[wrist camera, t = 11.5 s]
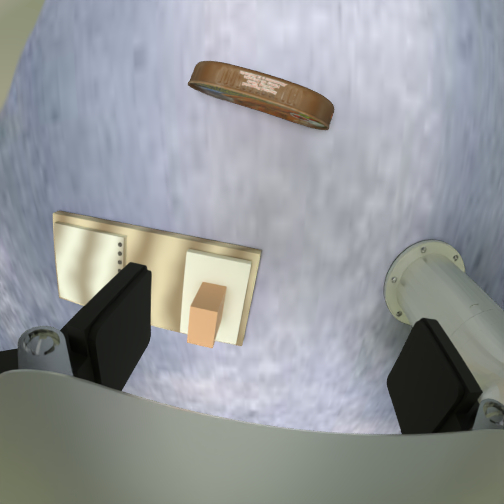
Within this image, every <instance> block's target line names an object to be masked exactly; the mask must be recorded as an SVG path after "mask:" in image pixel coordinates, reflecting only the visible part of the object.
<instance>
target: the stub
mask: <svg viewBox="0 0 504 504" xmlns="http://www.w3.org/2000/svg"><path fill="white" fill-rule="evenodd" d="M251 263H252V261H248V260H243V259H238V258H233V257H228V256H223V255H218V254H213V253H208V252H203V251H198V250H193V249H188V250H187V253H186V263H185V273H184V284H183V296H182V309H181V323H180V332H181V333H185V334H188V337H187V343H192V344H196V345H200V346H205V347H209V348H213V345H214V342H215V340H216V341H220V342H225V343H230V344H235V345H236V341H237V336H238V331H239V326H240V321H241V316H242V310H243V305H244V300H245V295H246V289H247V284H248V279H249V274H250V268H251Z"/></svg>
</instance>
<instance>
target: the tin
mask: <svg viewBox="0 0 504 504" xmlns="http://www.w3.org/2000/svg"><path fill="white" fill-rule="evenodd" d="M188 85H189V86H190V87H191V88H193V89H195V90H198V91H200V92H202V93H205V94H207V95H210V96H213V97H216V98H219V99H222V100H225V101H229V102H232V103H235V104H239V105H242V106H245V107H249V108H252V109H255V110H258V111H261V112H265V113H268V114H271V115H274V116H276V117H279V118H282V119H285V120H288V121H291V122H294V123H297V124H301V125H304V126H307V127H311V128H315V129H321V130H328V129H329V124H330V121H331V119H332V116H333V113H334V106H333V104H332V103H331V102H330V101H329V100H328V99H327V98H325V97H324V96H322V95H321V94H319V93H317V92H315V91H313V90H310V89H308V88H306V87H303V86H301V85H298V84H295V83H292V82H289V81H286V80H284V79H281V78H277V77H274V76H271V75H268V74H264V73H261V72H258V71H254V70H251V69H247V68H243V67H239V66H235V65H231V64H227V63H222V62H215V61H202V62H199V63H198V64H197V65H196V66H195V68H194V71H193V74H192V76H191V79H190V81H189V82H188Z"/></svg>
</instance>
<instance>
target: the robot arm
mask: <svg viewBox="0 0 504 504" xmlns="http://www.w3.org/2000/svg"><path fill="white" fill-rule="evenodd" d="M421 248H422V249H421ZM392 277H393V278H392ZM151 285H152V272H151V271H150V270H148V269H147V266H146V265H142V264H138V263H134V262H130V263H128V264H127V265H126V266H125V267H124V268H123V269H122V270H121V271H120V272H119V273H118V274H117V275H115V276H114V277H113V278H112V279H111V280H110V281H109V282H108V283H107V284H106V285H105V286H104V287H103V288H102V289H101V290H100V291H99V292H98V293H97V294H96V295H95V296H94V297H93V298H92V299H91V300H90V301H89V302H88V303H87V304H86V305H85V306H84V307H83V308H82V309H81V310H80V311H79V312H78V313H77V314H76V315H75V316H74V317H73V318H72V319H71V320H70V321H69V322H68V323H67V324H66V325H65V326H64V327H63V328H62V329H61V330H58V329H56V328H54V327H50V326H38V327H33V328H31V329H29V330H27V331H25V332H24V333H23V334H22V335H21V337H20V338H19V340H18V349H12V350H6V351H0V504H504V311H503V310H502V309H501V308H500V307H499V306H498V305H497V304H496V303H495V302H494V301H493V300H492V299H491V298H490V297H489V296H488V295H487V294H486V293H485V292H484V291H483V290H482V289H481V288H480V287H479V286H478V285H477V284H476V283H475V282H474V281H473V280H472V279H471V278H470V277H468V276H467V275H466V274H465V267H464V263H463V260H462V258H461V256H460V254H459V253H458V252H457V251H456V250H455V249H454V248H453V247H452V246H451V245H449V244H447V243H445V242H442V241H439V240H427V241H422V242H419V243H417V244H414V245H412V246H411V247H409V248H408V249H406V250H405V251H404V252H403V253H402V254H400V255H399V257H398V258H397V259H396V260H395V261H394V263H393V265H392V266H391V268H390V270H389V272H388V274H387V277H386V281H385V285H384V296H385V301H386V304H387V306H388V308H389V310H390V312H391V314H392V315H393V316H394V317H395V318H396V319H397V320H399V321H400V322H402V323H405V324H408V325H411V326H412V330H411V332H410V335H409V337H408V339H407V341H406V343H405V345H404V347H403V349H402V351H401V353H400V355H399V357H398V359H397V361H396V363H395V364H394V366H393V368H392V370H391V372H390V374H389V376H388V378H387V387H388V390H389V394H390V397H391V400H392V403H393V406H394V409H395V412H396V416H397V419H398V422H399V426H400V429H401V432H402V434H354V433H336V432H322V431H311V430H301V429H292V428H284V427H277V426H270V425H263V424H257V423H250V422H245V421H239V420H233V419H228V418H223V417H218V416H213V415H208V414H204V413H199V412H195V411H191V410H187V409H183V408H179V407H175V406H171V405H167V404H163V403H160V402H156V401H153V400H149V399H146V398H142V397H139V396H136V395H132V394H129V393H126V392H122V389H123V387H124V386H125V384H126V382H127V380H128V379H129V377H130V375H131V373H132V372H133V370H134V368H135V366H136V365H137V363H138V361H139V360H140V358H141V356H142V354H143V353H144V351H145V349H146V348H147V346H148V344H149V341H150V337H151Z"/></svg>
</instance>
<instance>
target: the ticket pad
mask: <svg viewBox="0 0 504 504" xmlns="http://www.w3.org/2000/svg"><path fill="white" fill-rule="evenodd" d="M53 231H54V249H55V262H56V273H57V282H58V291H59V298H62V299H65V300H68V301H71V302H74V303H77V304H80V305H83V306H85V305H86V304H87V303H88V302H89V301H90V300H91V299H92V298H93V297H94V296H95V295H96V294H97V293H98V292H99V291H100V290H101V289H102V288H103V287H104V286H105V285H106V284H107V283H108V282H109V281H110V280H111V279H112V278H113V277H114V276H115V275H117V274H118V273H119V272H120V271H121V270H122V269H123V268H124V267H125V266H126V265H127V264H128V263H130V262H134V263H138V264H142V265H146V266H147V269H148V270H150V271H151V272H152V285H151V325H152V326H156V327H160V328H164V329H167V330H171V331H175V332H180V323H181V309H182V296H183V284H184V273H185V263H186V253H187V250H188V249H193V250H198V251H203V252H208V253H213V254H218V255H223V256H228V257H233V258H238V259H243V260H248V261H252V263H251V268H250V274H249V279H248V284H247V289H246V295H245V300H244V305H243V310H242V316H241V321H240V326H239V331H238V336H237V341H236V345H238V346H242V344H243V339H244V334H245V329H246V324H247V319H248V314H249V310H250V305H251V300H252V295H253V290H254V285H255V280H256V275H257V270H258V265H259V260H260V255H261V250H259V249H254V248H249V247H244V246H238V245H233V244H228V243H223V242H218V241H213V240H208V239H203V238H198V237H193V236H187V235H182V234H177V233H172V232H167V231H162V230H157V229H151V228H146V227H141V226H136V225H131V224H126V223H120V222H115V221H110V220H105V219H100V218H94V217H89V216H84V215H79V214H74V213H68V212H63V211H57V212H55V213H53ZM180 333H181V332H180ZM184 334H185V333H184ZM215 341H216V340H215ZM219 342H220V341H219ZM224 343H225V342H224ZM229 344H230V343H229ZM233 345H235V344H233Z"/></svg>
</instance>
